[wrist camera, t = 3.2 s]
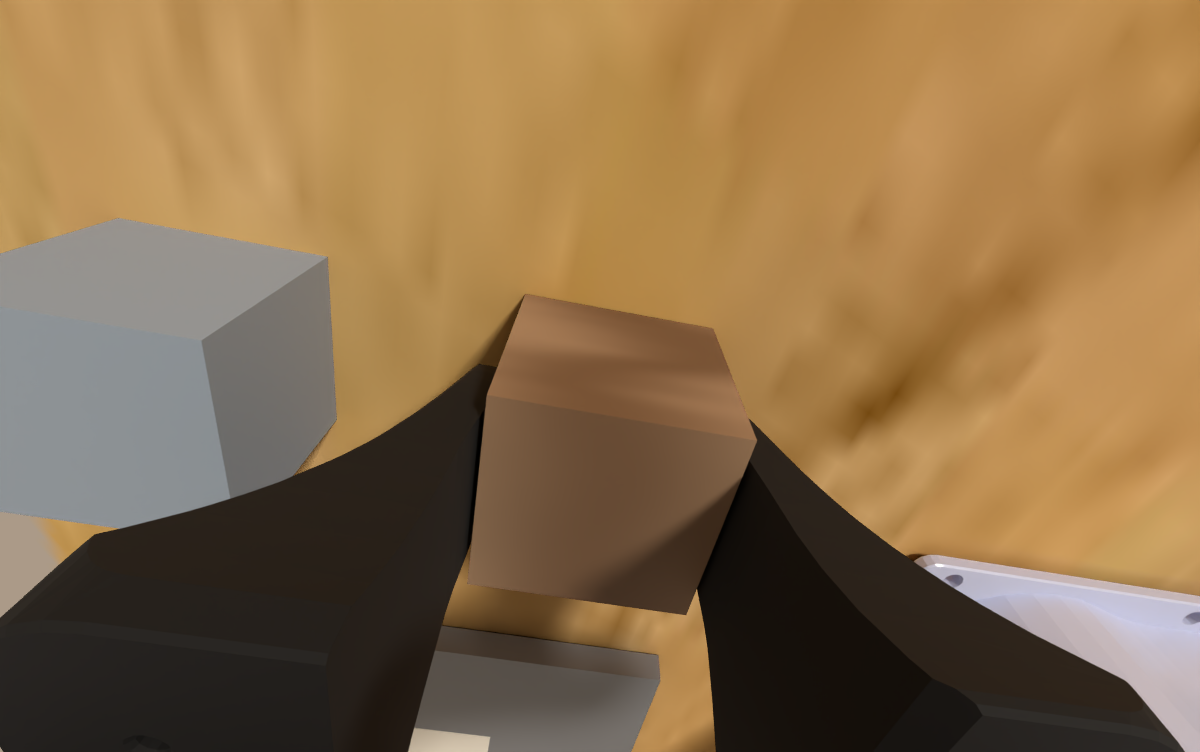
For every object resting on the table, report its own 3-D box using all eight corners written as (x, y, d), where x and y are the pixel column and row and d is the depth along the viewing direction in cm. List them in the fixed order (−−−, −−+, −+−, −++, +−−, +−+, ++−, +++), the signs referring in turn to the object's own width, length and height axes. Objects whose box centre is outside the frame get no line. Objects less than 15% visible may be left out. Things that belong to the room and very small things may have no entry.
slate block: (330, 255, 11) (201, 340, 8) (337, 417, 13) (238, 544, 9) (121, 217, 11) (-112, 287, 7) (162, 389, 13) (-9, 510, 9)
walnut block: (713, 328, 12) (757, 440, 8) (666, 474, 14) (685, 615, 10) (525, 293, 11) (487, 395, 8) (505, 447, 13) (466, 584, 10)
